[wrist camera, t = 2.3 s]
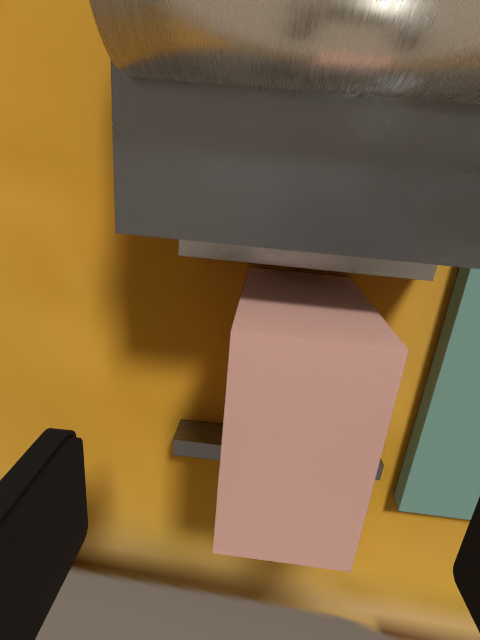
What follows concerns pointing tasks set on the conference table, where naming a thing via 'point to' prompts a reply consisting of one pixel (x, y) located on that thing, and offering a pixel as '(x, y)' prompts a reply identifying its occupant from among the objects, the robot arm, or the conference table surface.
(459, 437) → the pad
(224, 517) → the pink rectangular prism
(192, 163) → the dispenser
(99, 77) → the conference table surface
